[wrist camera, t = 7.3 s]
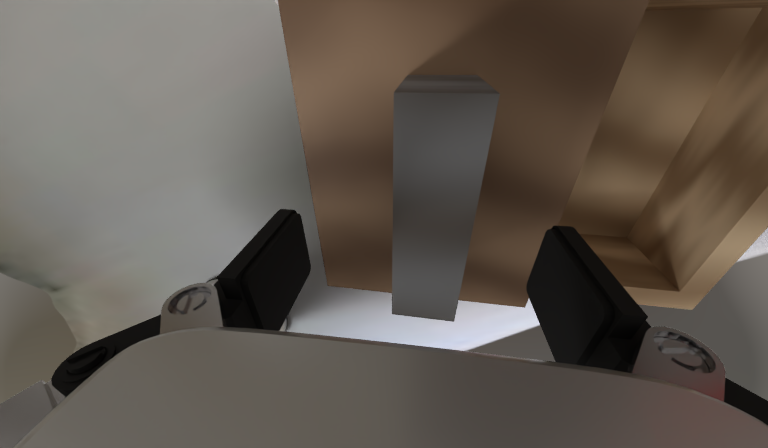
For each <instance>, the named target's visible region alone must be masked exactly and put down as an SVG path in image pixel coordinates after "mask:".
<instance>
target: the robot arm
mask: <svg viewBox="0 0 768 448" xmlns="http://www.w3.org/2000/svg"><path fill="white" fill-rule="evenodd" d="M310 269H311V265H310V260H309V255H308V249H307V244H306V239H305V234H304V229H303V224H302V219H301V215H300V214H297V212H296V211H295V210H287V209H280V210H279V211H278V212H277V213H276V214H275V215H274V216H273V217H272V218H271V219H270V220H269V221H268V222H267V224H266V225H265V226H264V227H263V228H262V229H261V230H260V231H259V232H258V233H257V234H256V235H255V237H254V238H253V239H252V240H251V241H250V242H249V243H248V244H247V245H246V246H245V247H244V248H243V249H242V251H241V252H240V253H239V254H238V255H237V256H236V257H235V258H234V259H233V260H232V261H231V262H230V264H229V265H228V266H227V267H226V268H225V269H224V270H223V271H222V272H221V273H220V274H219V275H218V277H217V279H216V280H211V281H209V282H207V283H197V284H193V285H189V286H187V287H184V288H182V289H180V290H178V291H177V292H175V293H174V294H172V295H171V296H170V297H169V298H168V299H167V300H166V301H165V303H164V304H163V306H162V310H161V315H159V316H156V317H154V318H152V319H149V320H147V321H144V322H142V323H139V324H137V325H135V326H132V327H130V328H127V329H125V330H122V331H120V332H118V333H115V334H113V335H110V336H108V337H105V338H103V339H101V340H98V341H96V342H93V343H91V344H89V345H87V346H85V347H83V348H81V349H80V350H78V351H76V352H75V353H73V354H72V355H71V356H69V357H68V358H67V359H66V360H65V361H64V362H62V363H61V365H60V366H59V367H58V368H57V369H56V371H55V373H54V375H53V376H52V380H51V381H49V382H47V383H45V382H44V381H42V380H41V381H39V382H37V383H35V384H34V385H32V386H30V387H29V388H27V389H25V390H23V391H22V392H20V393H18V394H16V395H15V396H13V397H11V398H10V399H8V400H6V401H5V402H3V403H1V404H0V448H768V401H767V400H765V399H763V398H761V397H759V396H757V395H756V394H754V393H752V392H750V391H748V390H747V389H745V388H743V387H741V386H739V385H738V384H736V383H734V382H732V381H730V380H729V379H727V378H725V373H726V372H725V368H724V364H723V363H722V361H721V360H720V358H719V357H718V356H717V355H716V354H715V353H714V352H713V351H712V350H711V349H710V348H709V347H707V346H706V345H705V344H703V343H702V342H700V341H699V340H697V339H696V338H694V337H692V336H690V335H688V334H686V333H684V332H681V331H679V330H676V329H673V328H669V327H665V326H654V327H651V326H650V325H649V324H648V323H647V322H646V319H647V317H648V316H647V315H646V314H645V313H644V312H643V310H642V309H641V308H640V307H639V305H638V304H637V303H636V302H635V301H634V299H633V298H632V297H631V296H630V294H629V293H628V292H627V291H626V290H625V288H624V287H623V286H622V285H621V284H620V282H619V281H618V280H617V279H616V278H615V276H614V275H613V274H612V273H611V272H610V270H609V269H608V268H607V267H606V266H605V264H604V263H603V262H602V261H601V260H600V258H599V257H598V256H597V255H596V253H595V252H594V251H593V250H592V249H591V247H590V246H589V245H588V244H587V243H586V241H585V240H584V239H583V238H582V237H581V235H580V234H579V233H578V232H577V231H576V229H575V228H574V227H571V226H553V227H552V228H551V229H548V230H547V231H546V232H545V235H544V238H543V240H542V243H541V246H540V249H539V251H538V254H537V257H536V260H535V262H534V265H533V268H532V270H531V273H530V276H529V279H528V281H527V286H526V289H527V294H528V296H529V298H530V301H531V303H532V306H533V308H534V310H535V313H536V315H537V318H538V320H539V323H540V325H541V327H542V330H543V332H544V335H545V337H546V340H547V342H548V344H549V346H550V349H551V352H552V354H553V356H554V359H555V361H556V362H551V361H544V360H535V359H526V358H518V357H509V356H501V355H493V354H484V353H475V352H467V351H459V350H450V349H441V348H432V347H423V346H415V345H406V344H397V343H388V342H379V341H370V340H361V339H351V338H342V337H333V336H323V335H314V334H305V333H295V332H285V330H286V326H287V320H286V317H287V315H288V313H289V312H290V310H291V308H292V306H293V304H294V302H295V300H296V298H297V296H298V294H299V292H300V291H301V289H302V287H303V285H304V283H305V281H306V279H307V277H308V275H309V273H310Z"/></svg>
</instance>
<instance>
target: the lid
mask: <svg viewBox="0 0 768 448" xmlns="http://www.w3.org/2000/svg"><path fill="white" fill-rule="evenodd" d="M648 3H649V0H278V4H279V10H280V16H281V21H282V27H283V33H284V38H285V44H286V50H287V56H288V61H289V67H290V73H291V78H292V84H293V90H294V96H295V101H296V107H297V113H298V118H299V124H300V130H301V136H302V141H303V147H304V153H305V159H306V164H307V170H308V176H309V181H310V187H311V193H312V199H313V204H314V210H315V216H316V221H317V227H318V233H319V239H320V244H321V250H322V256H323V261H324V267H325V273H326V279H327V284H328V286H335V287H344V288H353V289H362V290H371V291H380V292H389V293H392V314H396V315H404V316H412V317H421V318H429V319H437V320H445V321H454V319H455V314H456V309H457V304H458V300H462V301H471V302H480V303H489V304H498V305H507V306H517V307H525V306H526V303H527V301H528V298H529V296H528V294H527V289H526V286H527V281H528V279H529V276H530V273H531V270H532V268H533V265H534V262H535V260H536V257H537V254H538V251H539V249H540V246H541V243H542V240H543V238H544V235H545V232H546V231H547V230H548V229H551V228H552V227H553V226H558V224H559V222H560V219H561V217H562V215H563V212H564V210H565V207H566V205H567V202H568V200H569V197H570V195H571V192H572V190H573V187H574V185H575V183H576V180H577V178H578V175H579V173H580V170H581V168H582V165H583V163H584V160H585V158H586V155H587V153H588V151H589V148H590V146H591V143H592V141H593V138H594V136H595V133H596V131H597V128H598V126H599V123H600V121H601V119H602V116H603V114H604V111H605V109H606V106H607V104H608V101H609V99H610V96H611V94H612V91H613V89H614V87H615V84H616V82H617V79H618V77H619V74H620V72H621V69H622V67H623V64H624V62H625V59H626V57H627V55H628V52H629V50H630V47H631V45H632V42H633V40H634V37H635V35H636V32H637V30H638V27H639V25H640V23H641V20H642V18H643V15H644V13H645V10H646V8H647V5H648Z"/></svg>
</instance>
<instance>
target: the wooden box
mask: <svg viewBox="0 0 768 448" xmlns="http://www.w3.org/2000/svg"><path fill="white" fill-rule="evenodd" d="M558 226H571V227H574V228H575V229H576V231H577V232H578V233H579V234H580V235H581V237H582V238H583V239H584V240H585V241H586V243H587V244H588V245H589V246H590V247H591V249H592V250H593V251H594V252H595V253H596V255H597V256H598V257H599V258H600V260H601V261H602V262H603V263H604V264H605V266H606V267H607V268H608V269H609V270H610V272H611V273H612V274H613V275H614V276H615V278H616V279H617V280H618V281H619V282H620V284H621V285H622V286H623V287H624V288H625V290H626V291H627V292H628V293H629V294H630V296H631V297H632V298H633V299H634V301H635V302H636V303H637V304H641V305H651V306H660V307H670V308H680V309H690V310H692V309H693V308H694V307H695V306H696V305H697V304H698V303H699V302H700V301H701V299H702V298H703V297H704V296H705V295H706V294H707V293H708V292H709V290H711V289H712V288H713V286H714V285H715V284H716V283H717V282H718V281H719V280H720V279H721V278H722V277H723V275H724V274H725V273H726V272H727V271H728V270H729V269H730V268H731V267H732V266H733V265H734V263H735V262H736V261H737V260H738V259H739V258H740V257H741V256H742V255H743V254H744V253H745V251H746V250H747V249H748V248H749V247H750V246H751V245H752V244H753V243H754V242H755V241H756V239H757V238H758V237H759V236H760V235H761V234H762V233H763V232H764V231H765V230H766V229H767V227H768V0H649V3H648V5H647V8H646V10H645V13H644V15H643V18H642V20H641V23H640V25H639V27H638V30H637V32H636V35H635V37H634V40H633V42H632V45H631V47H630V50H629V52H628V55H627V57H626V59H625V62H624V64H623V67H622V69H621V72H620V74H619V77H618V79H617V82H616V84H615V87H614V89H613V91H612V94H611V96H610V99H609V101H608V104H607V106H606V109H605V111H604V114H603V116H602V119H601V121H600V123H599V126H598V128H597V131H596V133H595V136H594V138H593V141H592V143H591V146H590V148H589V151H588V153H587V155H586V158H585V160H584V163H583V165H582V168H581V170H580V173H579V175H578V178H577V180H576V183H575V185H574V187H573V190H572V192H571V195H570V197H569V200H568V202H567V205H566V207H565V210H564V212H563V215H562V217H561V219H560V222H559V224H558Z"/></svg>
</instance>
